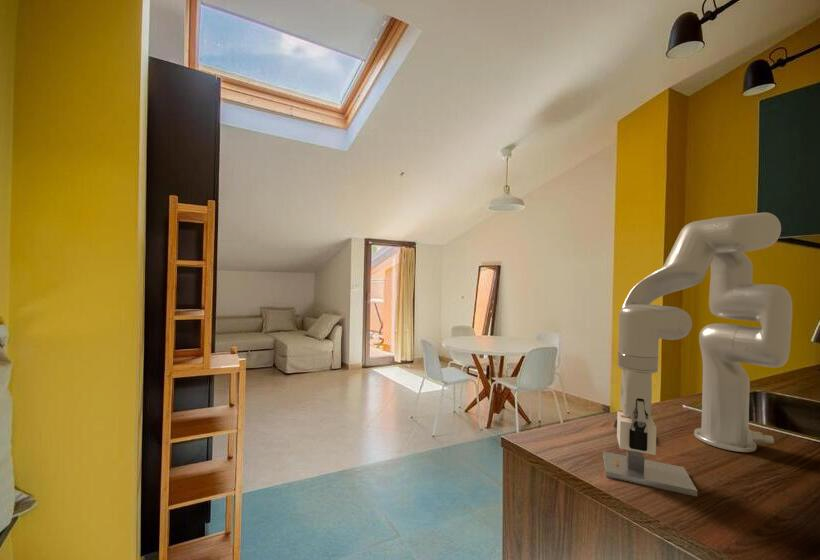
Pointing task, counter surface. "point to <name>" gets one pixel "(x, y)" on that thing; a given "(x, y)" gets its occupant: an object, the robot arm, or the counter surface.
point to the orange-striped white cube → (624, 432)
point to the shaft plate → (648, 472)
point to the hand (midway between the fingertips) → (635, 441)
